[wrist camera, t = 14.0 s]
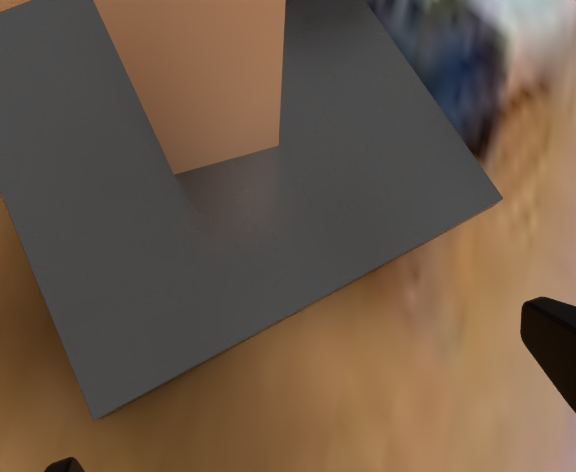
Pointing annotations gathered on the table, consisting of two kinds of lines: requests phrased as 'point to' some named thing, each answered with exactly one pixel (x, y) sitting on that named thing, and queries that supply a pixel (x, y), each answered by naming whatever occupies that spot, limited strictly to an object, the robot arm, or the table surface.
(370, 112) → the plate
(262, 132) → the sleeve
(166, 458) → the table surface
